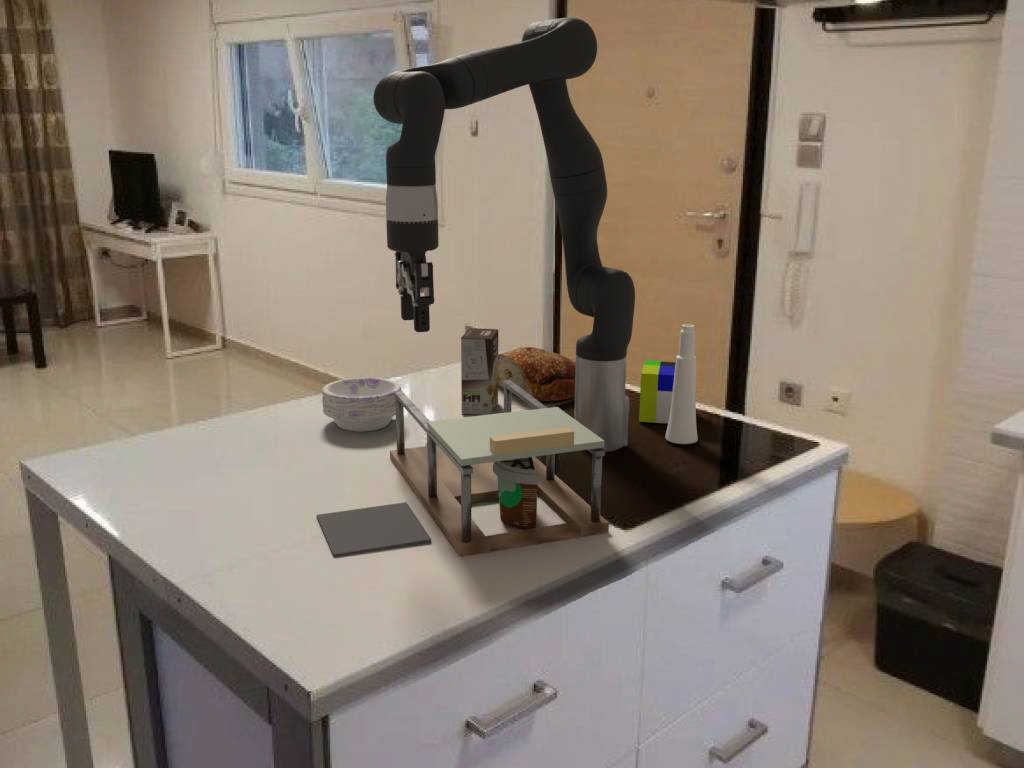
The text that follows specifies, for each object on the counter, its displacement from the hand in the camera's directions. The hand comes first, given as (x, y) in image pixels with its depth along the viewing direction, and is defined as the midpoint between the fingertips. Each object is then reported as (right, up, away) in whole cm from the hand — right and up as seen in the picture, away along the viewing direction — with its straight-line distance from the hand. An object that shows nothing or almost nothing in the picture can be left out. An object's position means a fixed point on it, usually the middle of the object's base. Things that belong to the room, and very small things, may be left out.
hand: (415, 325), depth 141 cm
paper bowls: (-15, -17, +44) cm, 49 cm away
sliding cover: (+15, -17, -2) cm, 22 cm away
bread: (+22, -11, +67) cm, 71 cm away
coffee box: (+8, -14, +54) cm, 56 cm away
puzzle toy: (+46, -15, +50) cm, 70 cm away
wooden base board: (+11, -26, +12) cm, 31 cm away
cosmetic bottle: (+47, -19, +37) cm, 62 cm away
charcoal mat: (-6, -30, -3) cm, 31 cm away
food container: (+15, -29, +2) cm, 33 cm away
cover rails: (+11, -25, +11) cm, 29 cm away
